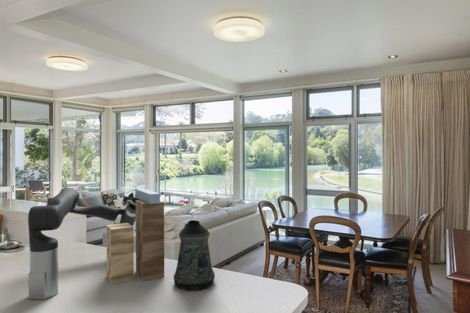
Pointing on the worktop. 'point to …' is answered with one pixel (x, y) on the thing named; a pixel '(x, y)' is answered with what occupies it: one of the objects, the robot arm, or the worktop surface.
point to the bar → (147, 196)
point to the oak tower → (120, 252)
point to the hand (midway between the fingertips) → (141, 193)
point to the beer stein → (194, 259)
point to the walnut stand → (149, 239)
